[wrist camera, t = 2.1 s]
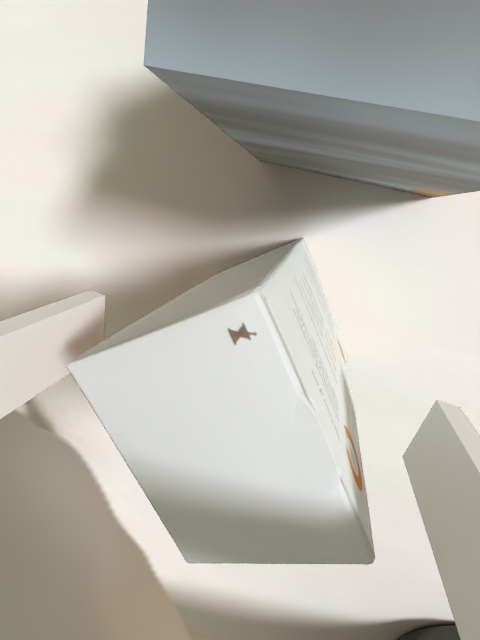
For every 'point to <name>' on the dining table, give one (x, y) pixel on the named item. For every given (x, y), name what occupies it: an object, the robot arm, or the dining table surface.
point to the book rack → (333, 83)
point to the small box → (240, 417)
